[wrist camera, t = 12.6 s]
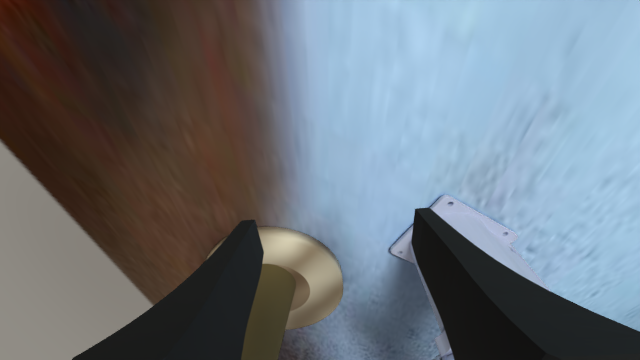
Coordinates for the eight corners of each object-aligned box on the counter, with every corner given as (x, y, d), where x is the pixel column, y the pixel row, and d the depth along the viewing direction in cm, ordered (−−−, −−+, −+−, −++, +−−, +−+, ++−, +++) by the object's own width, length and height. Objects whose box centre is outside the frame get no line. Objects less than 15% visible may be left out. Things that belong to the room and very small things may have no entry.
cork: (272, 308, 30) (249, 442, 20) (226, 284, 28) (176, 421, 18) (308, 282, 27) (300, 420, 18) (260, 254, 25) (223, 392, 16)
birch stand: (369, 261, 28) (371, 273, 27) (302, 330, 35) (301, 343, 33) (234, 203, 24) (229, 214, 23) (188, 293, 31) (182, 306, 30)
